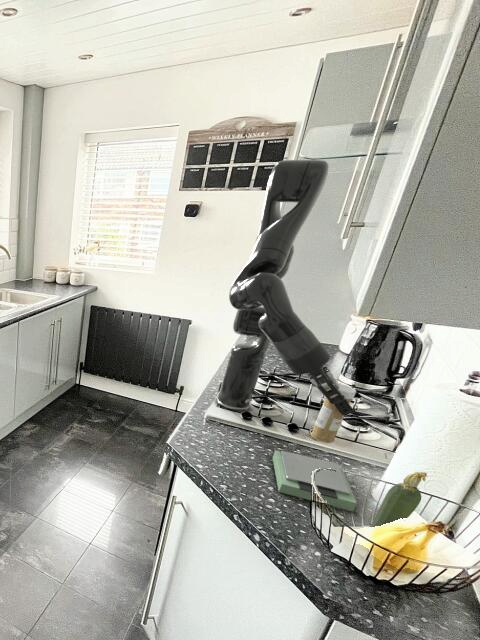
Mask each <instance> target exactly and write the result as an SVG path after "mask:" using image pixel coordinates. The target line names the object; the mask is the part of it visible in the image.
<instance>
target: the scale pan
mask: <svg viewBox="0 0 480 640" xmlns="http://www.w3.org/2000/svg"><path fill="white" fill-rule="evenodd" d="M279 452H280V455H281V459H282V464H283V469H284V473H285V478H286V480H289V481H293V482H297V483H302V484H306V485H310V486H311V473H312V471H314V470H315V469H319V468H331V469H334V470H336V471H338V472H339V473H337V472H335V471H330V470H321V471H319V472H317V474H316V475H315V481H316V485H317V487H318V488H322V489H325V490H329V491H333V492H336V493H340V494H344V495H348V496H349V495H350V491H349V489H348V487H347V484H346V482H345V479H344V477H343V475H342V472H341V470H340V467H339V463H338V462H337V463H336V462H333V461H329V460H325V459H321V458H317V457H312V456H307V455H303V454H298V453H294V452H289V451H286V450H280V451H279Z"/></svg>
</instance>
